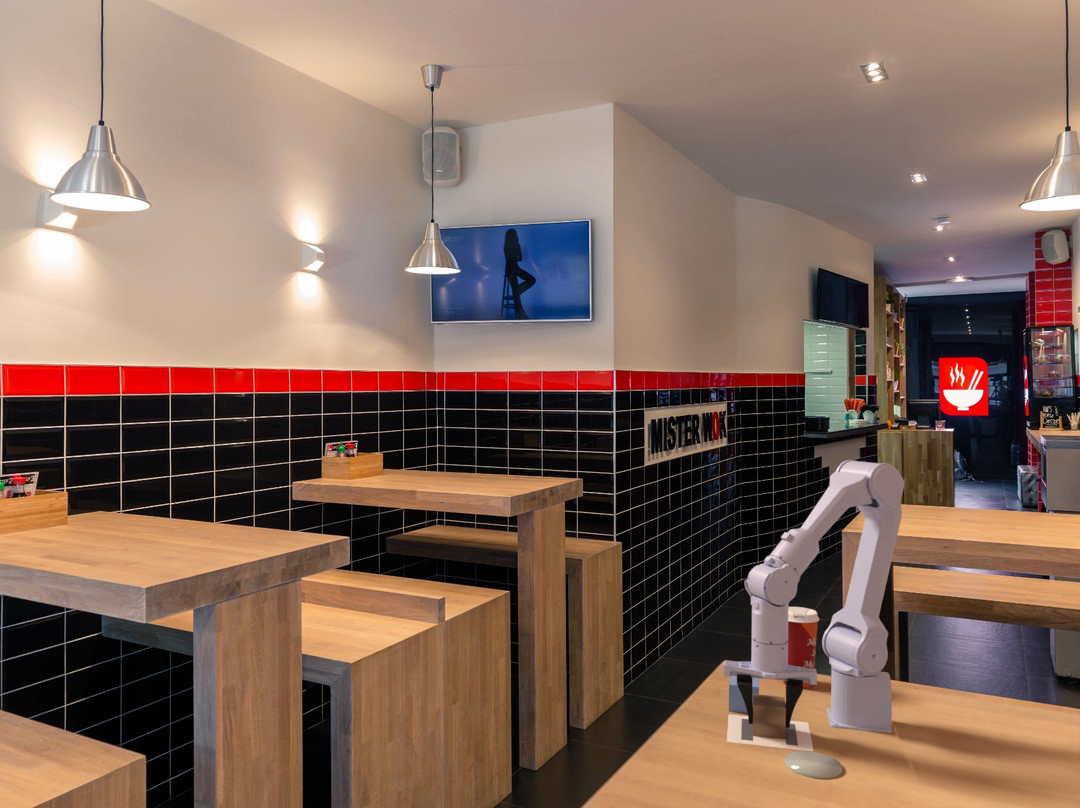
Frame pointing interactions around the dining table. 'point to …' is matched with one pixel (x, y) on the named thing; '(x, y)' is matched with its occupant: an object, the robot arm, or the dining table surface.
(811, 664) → the paper cup
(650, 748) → the dining table surface
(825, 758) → the saucer
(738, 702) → the blue cube
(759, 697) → the walnut block
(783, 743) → the letter card
